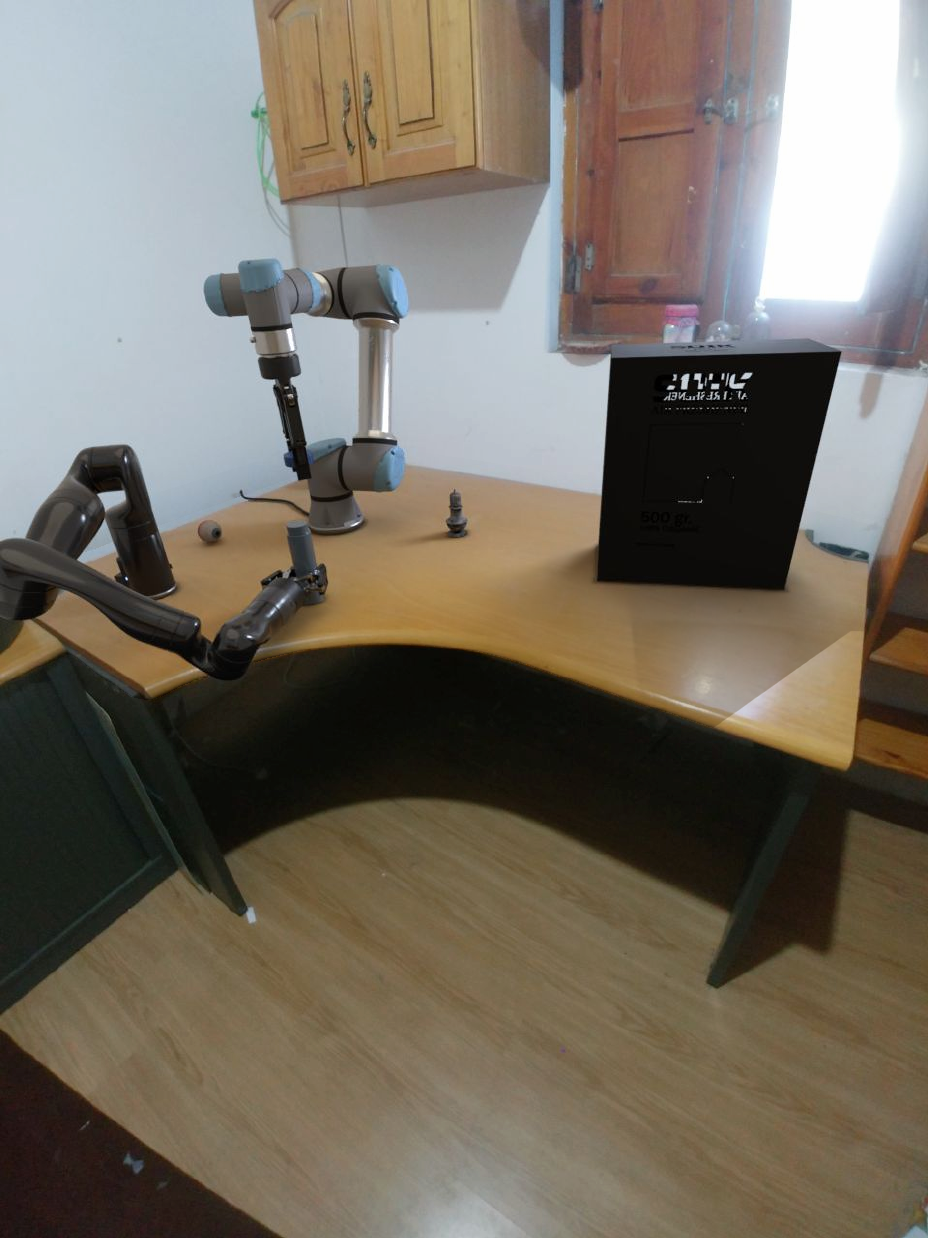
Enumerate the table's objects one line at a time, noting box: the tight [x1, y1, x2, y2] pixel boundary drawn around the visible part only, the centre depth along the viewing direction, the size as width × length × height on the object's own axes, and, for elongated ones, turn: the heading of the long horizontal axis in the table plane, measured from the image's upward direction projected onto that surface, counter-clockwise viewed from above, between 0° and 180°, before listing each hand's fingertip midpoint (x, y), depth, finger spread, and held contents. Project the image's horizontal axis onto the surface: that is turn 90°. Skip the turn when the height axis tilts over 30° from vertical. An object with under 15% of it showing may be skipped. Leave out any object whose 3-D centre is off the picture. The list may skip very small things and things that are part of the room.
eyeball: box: [197, 519, 223, 544], centre depth 161 cm, size 6×6×6 cm
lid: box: [283, 450, 314, 469], centre depth 123 cm, size 6×6×2 cm
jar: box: [285, 519, 324, 606], centre depth 127 cm, size 5×5×18 cm
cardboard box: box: [596, 337, 842, 591], centre depth 125 cm, size 38×20×45 cm, turn 78°
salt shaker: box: [444, 488, 469, 538], centre depth 156 cm, size 6×6×12 cm
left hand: (311, 567), depth 130 cm, fingers closed on jar, 5 cm apart
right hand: (302, 474), depth 125 cm, fingers closed on lid, 6 cm apart
